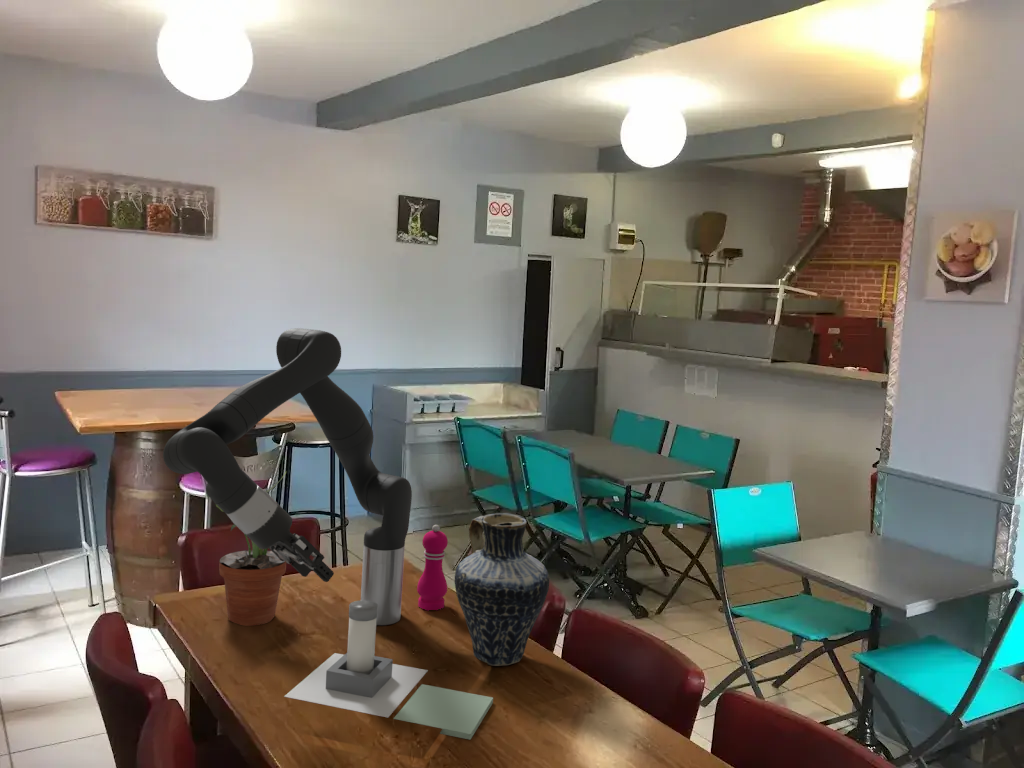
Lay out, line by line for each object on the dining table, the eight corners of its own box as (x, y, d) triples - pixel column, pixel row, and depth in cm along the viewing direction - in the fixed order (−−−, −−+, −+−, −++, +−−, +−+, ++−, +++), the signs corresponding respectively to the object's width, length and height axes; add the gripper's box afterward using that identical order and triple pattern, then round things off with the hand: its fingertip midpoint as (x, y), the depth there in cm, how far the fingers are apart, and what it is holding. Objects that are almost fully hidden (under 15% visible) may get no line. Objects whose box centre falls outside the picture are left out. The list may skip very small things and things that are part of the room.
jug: (562, 662, 175) (573, 521, 172) (497, 689, 161) (508, 536, 158) (491, 630, 189) (500, 500, 186) (426, 653, 175) (435, 512, 172)
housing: (334, 657, 169) (335, 636, 169) (427, 675, 165) (429, 653, 164) (283, 701, 150) (284, 677, 150) (387, 722, 145) (389, 698, 145)
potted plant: (273, 600, 198) (280, 454, 195) (292, 623, 185) (299, 467, 182) (204, 608, 190) (210, 456, 186) (219, 633, 177) (225, 470, 174)
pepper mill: (441, 613, 197) (446, 530, 195) (411, 609, 198) (416, 526, 196) (449, 603, 204) (454, 522, 202) (421, 599, 205) (426, 519, 204)
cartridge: (352, 674, 160) (356, 598, 159) (377, 679, 159) (382, 602, 158) (340, 686, 155) (344, 607, 154) (366, 691, 154) (370, 612, 153)
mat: (421, 689, 159) (422, 684, 158) (492, 702, 155) (493, 697, 155) (393, 723, 145) (393, 718, 145) (470, 739, 142) (470, 734, 142)
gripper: (291, 502, 143) (351, 563, 150) (257, 498, 154) (314, 555, 161) (261, 535, 140) (323, 597, 146) (228, 530, 151) (288, 587, 157)
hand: (318, 575), depth 153 cm, fingers open, 8 cm apart
